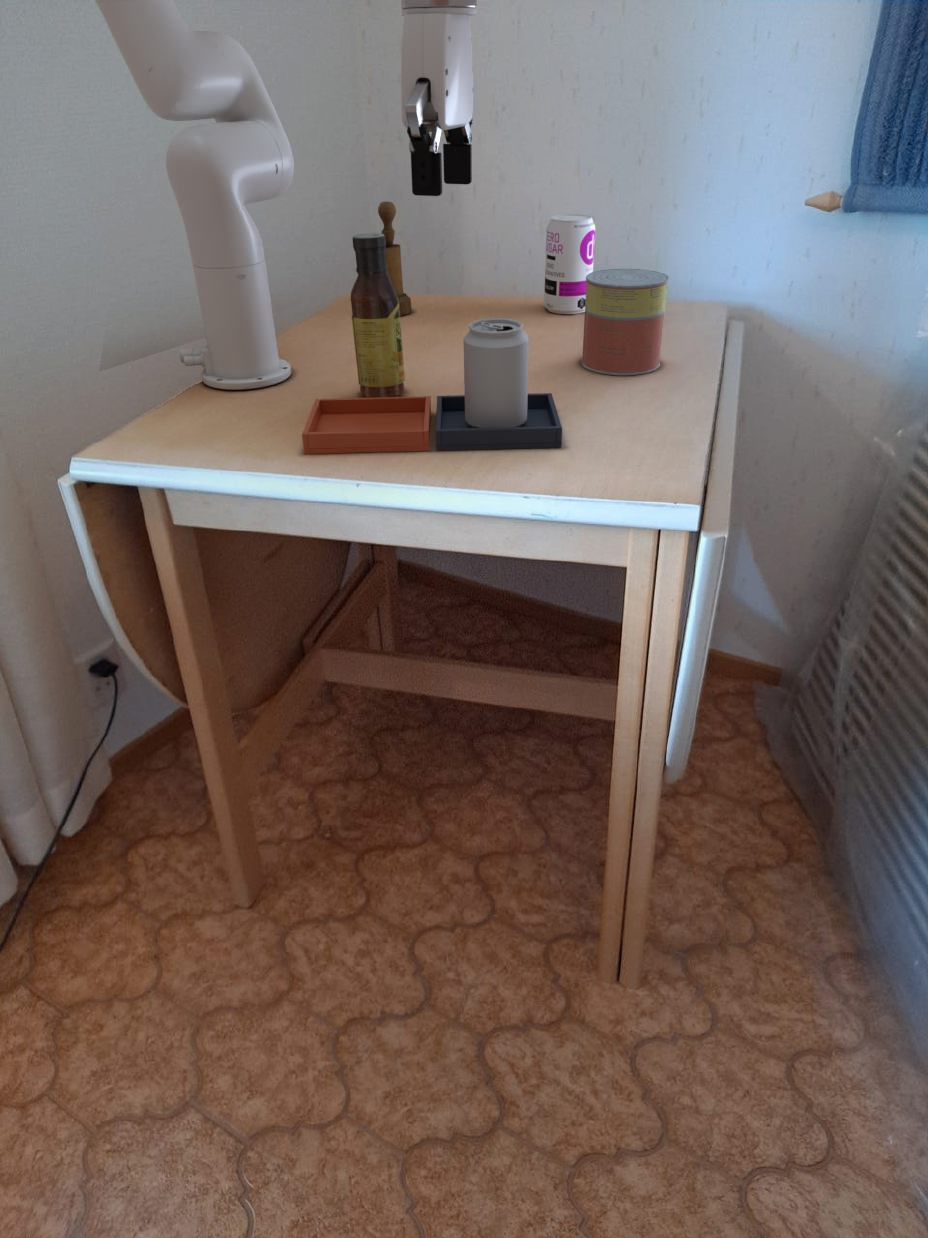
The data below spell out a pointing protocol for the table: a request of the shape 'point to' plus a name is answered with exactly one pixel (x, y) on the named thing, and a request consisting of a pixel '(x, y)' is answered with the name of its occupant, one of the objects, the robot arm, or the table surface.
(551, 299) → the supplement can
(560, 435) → the charcoal tray
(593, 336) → the canned food
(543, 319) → the table surface
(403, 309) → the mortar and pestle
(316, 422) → the terracotta tray
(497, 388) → the can
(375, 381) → the sauce bottle
